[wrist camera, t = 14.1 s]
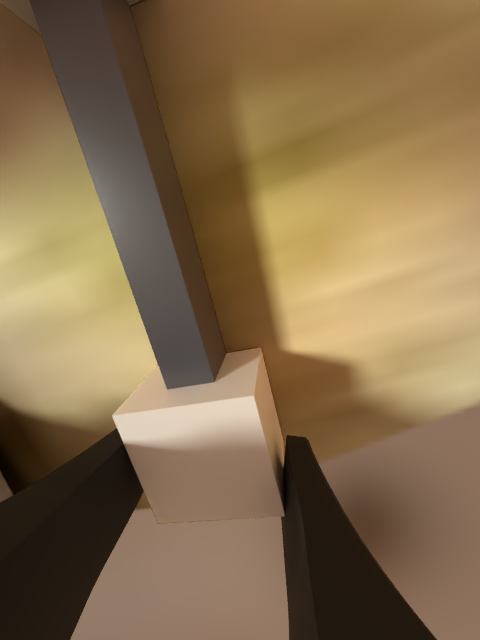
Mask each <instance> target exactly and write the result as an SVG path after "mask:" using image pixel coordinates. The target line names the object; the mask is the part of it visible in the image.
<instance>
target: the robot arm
mask: <svg viewBox="0 0 480 640" xmlns="http://www.w3.org/2000/svg"><path fill="white" fill-rule="evenodd" d="M283 477H284V505H285V516H283V517H281V520H282V533H283V547H284V558H285V572H286V585H287V598H288V612H289V613H288V615H289V640H437V639H436V638H435V637H434V636H433V634H432V633H431V632H430V631H429V629H428V628H427V627H426V626H425V625H424V623H423V622H422V621H421V619H420V618H419V617H418V616H417V615H416V613H415V612H414V611H413V609H412V608H411V607H410V606H409V605H408V603H407V602H406V601H405V599H404V598H403V597H402V596H401V594H400V593H399V591H398V590H397V589H396V588H395V586H394V585H393V583H392V582H391V581H390V579H389V578H388V577H387V575H386V574H385V573H384V571H383V570H382V569H381V567H380V566H379V564H378V563H377V561H376V560H375V558H374V557H373V556H372V554H371V553H370V551H369V550H368V548H367V547H366V545H365V544H364V542H363V541H362V539H361V538H360V536H359V535H358V533H357V532H356V530H355V528H354V527H353V525H352V524H351V522H350V520H349V519H348V517H347V515H346V514H345V512H344V510H343V509H342V507H341V505H340V504H339V502H338V500H337V498H336V497H335V495H334V493H333V491H332V489H331V488H330V486H329V484H328V482H327V480H326V478H325V476H324V474H323V473H322V470H321V468H320V466H319V464H318V462H317V460H316V458H315V455H314V453H313V451H312V448H311V446H310V443H309V441H308V440H307V439H306V437H297V436H289V435H287V438H286V448H285V457H284V467H283ZM143 491H144V490H143V488H142V485H141V483H140V481H139V478H138V476H137V474H136V471H135V469H134V466H133V464H132V462H131V459H130V457H129V455H128V452H127V450H126V448H125V445H124V443H123V441H122V438H121V436H120V434H119V431H118V429H115V430H114V431H113V432H111V433H110V434H108V435H107V436H105V437H104V438H103V439H101V440H100V441H98V442H97V443H95V444H94V445H92V446H91V447H90V448H88V449H87V450H85V451H84V452H82V453H81V454H79V455H78V456H76V457H75V458H73V459H72V460H70V461H69V462H67V463H65V464H64V465H62V466H61V467H59V468H58V469H56V470H55V471H53V472H51V473H50V474H48V475H47V476H45V477H44V478H42V479H40V480H39V481H37V482H35V483H34V484H32V485H30V486H29V487H27V488H25V489H23V490H22V491H20V492H18V493H16V494H15V495H13V496H11V497H9V498H7V499H5V500H4V501H2V502H0V640H70V639H71V636H72V634H73V632H74V630H75V627H76V625H77V623H78V620H79V618H80V616H81V613H82V611H83V609H84V607H85V604H86V602H87V600H88V598H89V596H90V593H91V591H92V589H93V587H94V585H95V583H96V581H97V579H98V577H99V575H100V573H101V571H102V569H103V567H104V565H105V563H106V562H107V560H108V558H109V556H110V554H111V552H112V550H113V549H114V547H115V545H116V543H117V541H118V539H119V537H120V536H121V534H122V532H123V530H124V528H125V526H126V524H127V523H128V521H129V518H130V517H131V515H132V513H133V511H134V509H135V507H136V506H137V504H138V502H139V500H140V498H141V496H142V493H143Z"/></svg>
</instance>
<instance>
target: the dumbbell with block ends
mask: <svg viewBox="0 0 480 640" xmlns="http://www.w3.org/2000/svg"><path fill="white" fill-rule="evenodd" d="M139 1H141V0H0V3H2V4H3V5H4V6H5V7H7V8H8V9H9V10H10V11H12V12H13V13H14V14H15V15H17V16H18V17H19V18H20V19H22V20H23V21H24V22H25V23H27V24H28V25H29V26H30V27H32V28H33V29H34V30H35V31H37V32H38V33H39V34H40V35H42V38H43V41H44V44H45V47H46V49H47V52H48V55H49V58H50V61H51V64H52V66H53V69H54V72H55V75H56V78H57V81H58V83H59V86H60V89H61V92H62V95H63V97H64V100H65V103H66V106H67V109H68V112H69V114H70V117H71V120H72V123H73V126H74V129H75V131H76V134H77V137H78V140H79V143H80V145H81V148H82V151H83V154H84V157H85V160H86V162H87V165H88V168H89V171H90V174H91V177H92V179H93V182H94V185H95V188H96V191H97V193H98V196H99V199H100V202H101V205H102V208H103V210H104V213H105V216H106V219H107V222H108V225H109V227H110V230H111V233H112V236H113V239H114V241H115V244H116V247H117V250H118V253H119V256H120V258H121V261H122V264H123V267H124V270H125V273H126V275H127V278H128V281H129V284H130V287H131V289H132V292H133V295H134V298H135V301H136V304H137V306H138V309H139V312H140V315H141V318H142V321H143V323H144V326H145V329H146V332H147V335H148V337H149V340H150V343H151V346H152V349H153V352H154V354H155V357H156V360H157V363H158V365H157V366H155V367H154V369H153V370H152V371H151V372H150V373H149V374H148V375H147V376H146V378H145V379H144V380H143V381H142V382H141V383H140V384H139V386H138V387H137V388H136V389H135V390H134V391H133V392H132V393H131V395H130V396H129V397H128V398H127V399H126V400H125V401H124V403H123V404H122V405H121V406H120V407H119V408H118V409H117V410H116V412H115V413H114V414H113V415H112V417H113V420H114V422H115V424H116V427H117V429H118V431H119V434H120V436H121V438H122V441H123V443H124V445H125V448H126V450H127V452H128V455H129V457H130V459H131V462H132V464H133V466H134V469H135V471H136V474H137V476H138V478H139V481H140V483H141V485H142V488H143V490H144V492H145V495H146V497H147V499H148V502H149V504H150V506H151V509H152V511H153V513H154V516H155V518H156V520H157V523H159V524H160V523H177V522H193V521H194V522H195V521H212V520H230V519H246V518H265V517H283V516H285V505H284V477H283V467H284V441H283V437H282V433H281V429H280V425H279V420H278V416H277V412H276V408H275V404H274V400H273V395H272V391H271V387H270V383H269V379H268V374H267V370H266V366H265V362H264V358H263V354H262V349H261V347H260V348H254V349H248V350H243V351H237V352H231V353H226V350H225V346H224V343H223V339H222V335H221V332H220V328H219V325H218V321H217V317H216V314H215V310H214V307H213V303H212V299H211V296H210V292H209V289H208V285H207V281H206V278H205V274H204V271H203V267H202V263H201V260H200V256H199V253H198V249H197V245H196V242H195V238H194V234H193V231H192V227H191V224H190V220H189V216H188V213H187V209H186V206H185V202H184V198H183V195H182V191H181V188H180V184H179V180H178V177H177V173H176V170H175V166H174V162H173V159H172V155H171V152H170V148H169V144H168V141H167V137H166V134H165V130H164V126H163V123H162V119H161V116H160V112H159V108H158V105H157V101H156V98H155V94H154V90H153V87H152V83H151V80H150V76H149V72H148V69H147V65H146V62H145V58H144V54H143V51H142V47H141V44H140V40H139V36H138V33H137V29H136V26H135V22H134V18H133V15H132V11H131V8H130V5H132V4H134V3H137V2H139Z"/></svg>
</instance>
